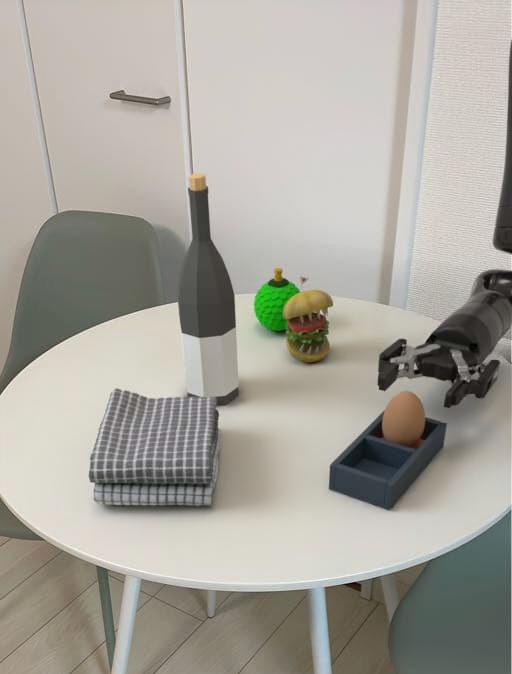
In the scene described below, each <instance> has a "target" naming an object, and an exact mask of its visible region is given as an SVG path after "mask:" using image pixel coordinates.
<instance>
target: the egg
mask: <svg viewBox="0 0 512 674" xmlns="http://www.w3.org/2000/svg"><path fill="white" fill-rule="evenodd" d="M384 410H385V411H384ZM384 410H383V411H384V415H383V421H382V431H383V435H384V437H385V439H386V440H387V441H390V442H393V443H397V444H400V445H403V446H407V447H412V446H413V445H414V444H416V443H417V442H418V440H419V439H420V438H421V436H422V434H423V431H424V426H425V417H426V411H425V408H424V405H423V403H422V401H421V399H420V398H419V396H418V395H417V394H416V393H415V392H412V391H410V390H403V391H400V392H398V393H397V394H395V395H394V396H393V397H392V398H391V399H390V400H389V402H388V404H387V406H386V407H385V409H384Z"/></svg>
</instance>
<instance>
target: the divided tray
mask: <svg viewBox="0 0 512 674" xmlns="http://www.w3.org/2000/svg"><path fill="white" fill-rule="evenodd" d="M384 411H385V409H384V410H383V411H382V412H381V413H380V414H379V415H378V416H377V417H376V418H375V419H374V420H373V421H372V422H371V423H370V424H369V425H368V426H367V427H366V428H365V429H364V430H363V431H362V432H361V433H360V434H359V435H358V436H357V437H356V438H355V439H354V440H353V441H352V442H351V443H350V444H349V445H348V446H347V447H346V448H345V449H344V450H343V451H342V452H341V453H340V454H339V455H338V456H337V457H336V458H335V459H334V460H333V461H332V462H331V463H330V464H329V477H328V490H331V491H333V492H336V493H338V494H341V495H345V496H347V497H350V498H354V499H356V500H359V501H362V502H364V503H367V504H370V505H373V506H375V507H378V508H382V509H384V510H387V511H391V510H392V509H393V507H395V505H396V504H397V503H398V502H399V500H400V499H401V498H402V497H403V496H404V495H405V493H406V492H407V491H408V490H409V488H411V486H412V485H413V484H414V483H415V482H416V480H417V479H418V478H419V477H420V476H421V474H422V473H423V472H424V471H425V470H426V469H427V467H428V466H429V465H430V463H431V462H432V461H433V460H434V459H435V458H436V456H437V455H439V453H440V452H441V451H442V450H443V448H444V447H445V439H446V432H447V427H448V422H444V421H441V420H437V419H433V418H430V417H426V416H425V426H424V431H423V434H422V436H421V438H420V439H419V440H418V442H417V443H416V444H414V445H413V446H412V447H407V446H403V445H400V444H397V443H393V442H390V441H387V440H386V439H385V437H384V435H383V431H382V421H383V415H384Z"/></svg>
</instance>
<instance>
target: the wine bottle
mask: <svg viewBox="0 0 512 674" xmlns="http://www.w3.org/2000/svg"><path fill="white" fill-rule="evenodd" d="M206 180H207V179H206V174H205V173H201V172H198V173H192V174H189V175H188V182H189V187H187V193H188V197H189V211H190V222H191V223H190V224H191V236H192V238H191V241H190V244H189V247H188V249H187V251H186V253H185V256H184V258H183V261H182V262H181V267H180V271H179V275H178V281H177V289H176V296H177V303H178V304H177V306H178V316H179V326H180V336H181V349H182V357H183V358H182V359H183V368H184V377H185V378H184V379H185V387H186V393H187V394H186V395H187V397H199V398H201V397H215V398H217V405H216V407H219V406H226V405H227V404H229V403H230V402H232V401H233V400H235V399H237V398H238V397H239V393H240V386H239V385H240V384H239V363H238V362H239V361H238V343H237V339H238V338H237V320H236V319H237V318H236V298H235V297H236V295H235V292H234V287H233V284H232V280H231V277H230V274H229V271H228V269H227V266H226V264H225V261H224V258H223V256H222V255H221V254H220V252H219V250H218V248H217V246H216V245H215V244H214V243H215V242H214V241H213V240H212V238H211V235H212V234H211V222H210V207H209V206H210V205H209V186H208V185H207V181H206Z"/></svg>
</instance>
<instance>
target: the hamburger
mask: <svg viewBox="0 0 512 674" xmlns="http://www.w3.org/2000/svg"><path fill="white" fill-rule="evenodd" d="M299 279H300V283H301V289H302V291H300V293H298V294H296V295H294V296H293V297H291V298H290V299H289V300H288V301H287V302H286V304H285V305H284V308H283V317H284V318H285V319H289V321H287V322H286V324H285V328H286V329H285V330H286V331H285V334H284V335H285V336H286V343H285V344H286V348H287V350H288V352H289V354H290V355H291V356H292V357H294V358H295V359H296V360H298V361H300V362H305V363H315V362H319V361H321V360H322V359H324V358H325V357H326V355H327V354H328V352H329V351H330V345H331V344H330V341H329V339H328V335H330V331H329V328H330V321H328V319H327V317H329V308H333V307H334V300H333V299H332V297H331V295H330V294H329V293H328V292H326V291H324V290H321V289H307V290H304V288H303V285H304V284H305V283H306V282H307V281H308V280H309V279H310V278H309V277H304V276H301V275H300V276H299ZM321 312H322V313H321Z"/></svg>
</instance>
